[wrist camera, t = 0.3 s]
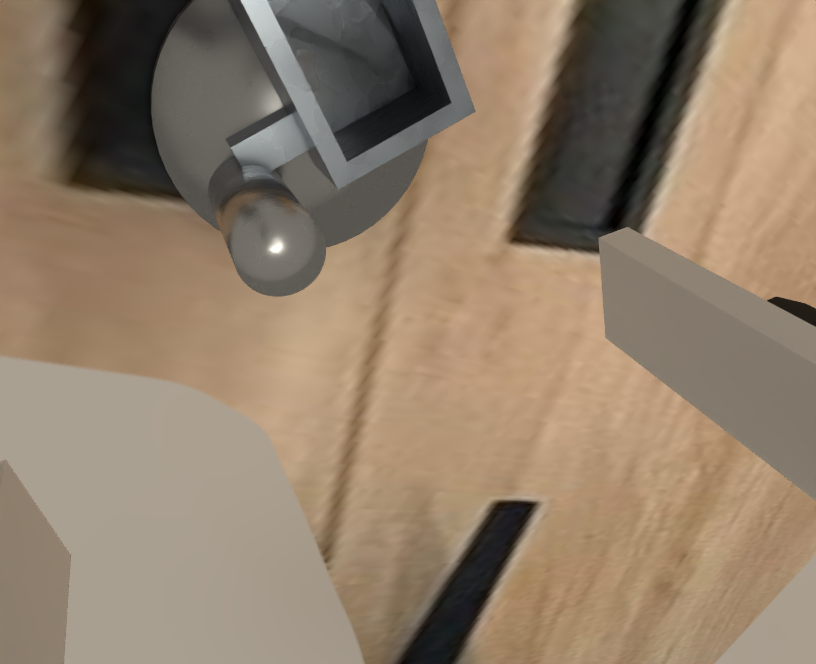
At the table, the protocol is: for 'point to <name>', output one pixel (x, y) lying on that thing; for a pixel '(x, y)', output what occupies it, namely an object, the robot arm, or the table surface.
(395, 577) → the table surface
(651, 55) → the table surface
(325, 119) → the bracket
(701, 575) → the table surface
